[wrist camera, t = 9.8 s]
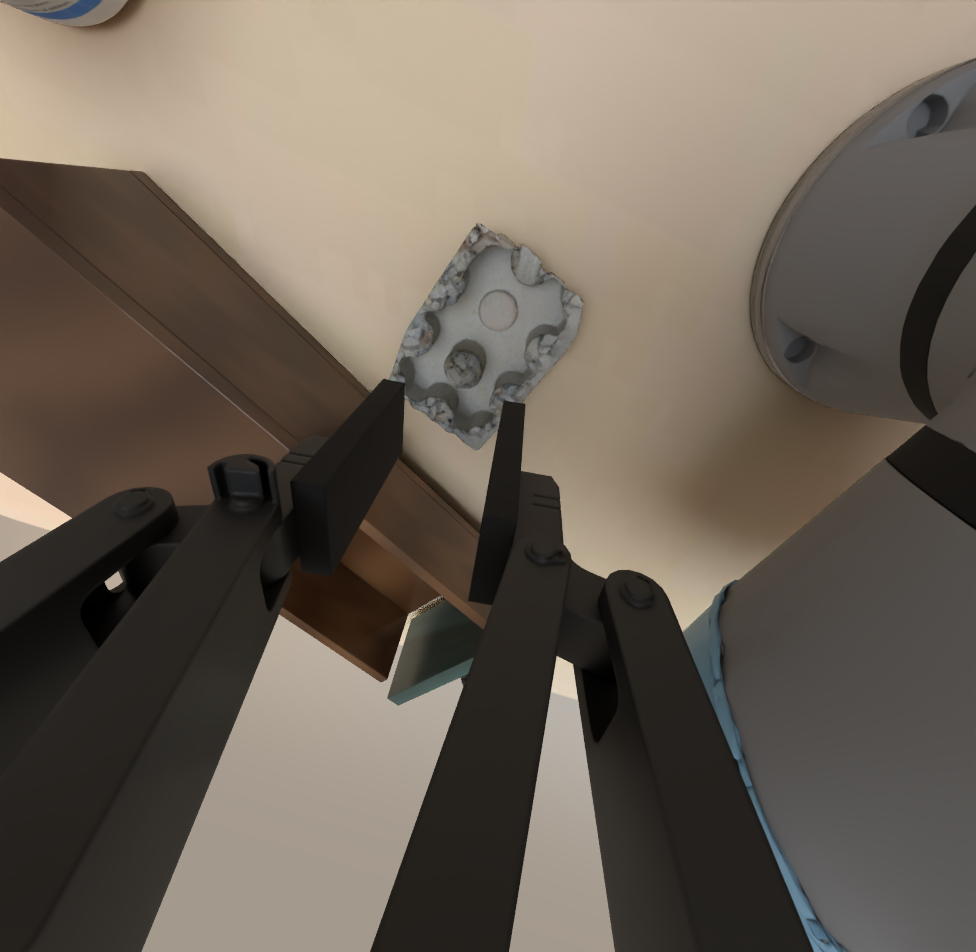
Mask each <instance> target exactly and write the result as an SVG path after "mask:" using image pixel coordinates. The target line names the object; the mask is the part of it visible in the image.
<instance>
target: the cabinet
mask: <svg viewBox="0 0 976 952" xmlns="http://www.w3.org/2000/svg"><path fill="white" fill-rule="evenodd" d="M369 394H370V393H369V392H368V391H367V390H366V389H365V388H364V387H363V386H362V385H361V384H360V383H359V382H358V381H357V380H356V379H355V378H354V377H353V376H352V375H351V374H350V373H349V372H348V371H347V370H346V369H345V368H344V367H343V366H342V365H341V364H340V363H339V362H337V361H336V360H335V359H334V358H333V357H332V356H331V355H330V354H329V353H328V352H327V351H326V350H325V349H324V348H323V347H322V346H321V345H320V344H319V343H318V342H317V341H316V340H315V339H314V338H313V337H312V336H311V335H310V334H309V333H308V332H307V331H306V330H305V329H304V328H303V327H302V326H301V325H299V324H298V323H297V322H296V321H295V320H294V319H293V318H292V317H291V316H290V315H289V314H288V313H287V312H286V311H285V310H284V309H283V308H282V307H281V306H280V305H279V304H278V303H277V302H276V301H275V300H274V299H273V298H272V297H271V296H270V295H269V294H268V293H267V292H266V291H265V290H264V289H262V288H261V287H260V286H259V285H258V284H257V283H256V282H255V281H254V280H253V279H252V278H251V277H250V276H249V275H248V274H247V273H246V272H245V271H244V270H243V269H242V268H241V267H240V266H239V265H238V264H237V263H236V262H235V261H234V260H233V259H232V258H231V257H230V256H229V255H228V254H227V253H226V252H224V251H223V250H222V249H221V248H220V247H219V246H218V245H217V244H216V243H215V242H214V241H213V240H212V239H211V238H210V237H209V236H208V235H207V234H206V233H205V232H204V231H203V230H202V229H201V228H200V227H199V226H198V225H197V224H196V223H195V222H194V221H193V220H192V219H191V218H190V217H189V216H188V215H186V214H185V213H184V212H183V211H182V210H181V209H180V208H179V207H178V206H177V205H176V204H175V203H174V202H173V201H172V200H171V199H170V198H169V197H168V196H167V195H166V194H165V193H164V192H163V191H162V190H161V189H160V188H159V187H158V186H157V185H156V184H155V183H154V182H153V181H152V180H151V179H150V178H148V177H147V176H146V175H145V174H144V173H143V172H140V171H127V170H117V169H106V168H96V167H86V166H75V165H65V164H54V163H44V162H34V161H23V160H13V159H2V158H0V472H1V473H3V474H4V475H6V476H7V477H9V478H10V479H12V480H14V481H15V482H17V483H18V484H20V485H21V486H23V487H25V488H26V489H28V490H29V491H31V492H32V493H34V494H36V495H37V496H39V497H40V498H42V499H43V500H45V501H47V502H48V503H50V504H51V505H53V506H54V507H56V508H58V509H59V510H61V511H62V512H64V513H65V514H67V515H69V516H70V517H72V518H74V517H75V516H77V515H79V514H80V513H82V512H83V511H85V510H87V509H88V508H90V507H92V506H93V505H95V504H97V503H98V502H100V501H102V500H103V499H105V498H107V497H109V496H111V495H113V494H115V493H118V492H121V491H125V490H128V489H131V488H140V487H156V488H161V489H164V490H166V491H169V492H170V494H171V495H172V497H173V499H174V502H175V506H186V505H209V504H211V503H212V502H213V501H214V499H215V497H214V493H213V489H212V486H211V482H210V478H209V474H208V470H207V467H208V466H209V465H211V464H212V463H213V462H215V461H217V460H219V459H222V458H224V457H227V456H233V455H238V454H255V455H261V456H265V457H266V458H268V459H270V460H272V461H273V463H274V465H276V464H277V463H278V462H280V461H281V459H282V458H283V457H284V456H285V455H286V454H288V453H289V451H290V450H291V449H292V448H293V447H294V446H295V445H296V444H297V443H298V442H300V441H303V440H305V439H307V438H309V437H312V436H319V437H324V438H330V437H331V436H332V435H333V434H334V433H335V431H336V430H337V429H338V428H339V427H340V426H341V425H342V424H343V423H344V422H345V421H346V419H347V418H348V417H349V416H350V415H351V414H352V413H353V412H354V411H355V410H356V408H357V407H358V406H359V405H360V404H361V403H362V402H363V401H364V400H365V399H366V398H367V396H368V395H369Z"/></svg>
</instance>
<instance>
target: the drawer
mask: <svg viewBox="0 0 976 952" xmlns="http://www.w3.org/2000/svg"><path fill="white" fill-rule="evenodd" d="M479 535H480V534H479V533H478V532H477V531H476V530H475V529H474V528H473V527H472V526H470V525H469V524H468V523H467V522H466V521H465V520H464V519H463V518H462V517H461V516H460V515H459V514H458V513H456V512H455V511H454V510H453V509H452V508H451V507H450V506H449V505H448V504H447V503H446V502H445V501H444V500H443V499H441V498H440V497H439V496H438V495H437V494H436V493H435V492H434V491H433V490H432V489H431V488H430V487H429V486H428V485H426V484H425V483H424V482H423V481H422V480H421V479H420V478H419V477H418V476H417V475H416V474H415V473H414V472H412V471H411V470H410V469H409V468H408V467H407V466H406V465H405V464H404V463H403V462H402V461H401V460H400V459H399V458H398V459H397V461H396V463H395V465H394V466H393V468H392V470H391V472H390V473H389V475H388V477H387V479H386V481H385V482H384V484H383V486H382V488H381V489H380V491H379V493H378V495H377V497H376V498H375V500H374V502H373V504H372V505H371V507H370V509H369V511H368V513H367V514H366V516H365V518H364V520H363V521H362V523H361V525H360V527H359V529H358V530H357V532H356V534H355V536H354V537H353V539H352V541H351V543H350V545H349V546H348V548H347V550H346V552H345V553H344V555H343V557H342V559H341V560H340V562H339V564H338V566H337V568H336V569H335V571H334V573H333V575H332V576H331V577H330V576H324V575H319V574H313V573H308V572H302V571H301V563H300V556H298V558H297V559H296V561H295V562H294V564H293V565H292V567H291V574H292V581H291V586H290V588H289V591H288V593H287V596H286V598H285V601H284V603H283V606H282V608H281V610H280V613H279V614H280V615H281V616H283V617H285V618H286V619H287V620H289V621H290V622H292V623H293V624H295V625H296V626H298V627H299V628H301V629H302V630H304V631H305V632H307V633H308V634H310V635H311V636H313V637H314V638H315V639H317V640H318V641H320V642H321V643H323V644H324V645H326V646H327V647H329V648H330V649H332V650H333V651H335V652H336V653H338V654H339V655H341V656H342V657H344V658H345V659H347V660H348V661H350V662H351V663H353V664H354V665H356V666H357V667H359V668H360V669H362V670H363V671H365V672H366V673H368V674H369V675H371V676H372V677H374V678H375V679H376V680H378V681H380V682H383V681H385V680H387V678H388V675H389V672H390V669H391V666H392V663H393V660H394V656H395V653H396V651H397V647H398V644H399V641H400V638H401V635H402V632H403V629H404V626H405V622H406V619H407V616H408V614H409V613H411V612H413V611H414V610H416V609H418V608H419V607H421V606H423V605H425V604H426V603H428V602H430V601H431V600H433V599H435V598H437V597H438V596H440V595H442V596H443V597H444V598H445V599H446V600H445V601H443V602H441V603H440V604H438V605H436V606H434V607H433V608H431V609H429V610H427V611H426V612H424V613H422V614H420V615H419V616H417V617H415V618H413V619H412V620H411V623H410V626H409V629H408V632H407V636H406V639H405V642H404V645H403V649H402V652H401V655H400V659H399V662H398V665H397V668H396V671H395V675H394V678H393V682H392V684H391V688H390V691H389V695H388V699H389V700H391V701H392V702H394V703H395V704H397V705H400V704H403V703H405V702H407V701H409V700H411V699H414V698H416V697H418V696H420V695H422V694H425V693H427V692H429V691H431V690H434V689H436V688H438V687H440V686H442V685H445V684H447V683H449V682H451V681H453V680H455V679H458V678H461V680H462V684H463V686H464V684H465V681H466V678H467V675H468V673H469V670H470V667H471V664H472V661H473V658H474V655H475V653H476V650H477V647H478V644H479V641H480V638H481V636H482V633H483V630H484V627H485V624H486V621H487V619H488V616H489V613H490V610H491V607H492V605H486V604H481V603H475V602H469V601H468V597H469V591H470V586H471V580H472V574H473V569H474V563H475V557H476V552H477V546H478V540H479Z"/></svg>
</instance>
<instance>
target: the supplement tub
mask: <svg viewBox="0 0 976 952" xmlns="http://www.w3.org/2000/svg"><path fill="white" fill-rule="evenodd" d="M127 1H128V0H0V2H2V3H5V4H7V5H10V6H12V7H15V8H17V9H20V10H22V11H24V12H27V13H30V14H33V15H35V16H38V17H40V18H43V19H45V20H48V21H51V22H54V23H58V24H62V25H67V26H91V25H95V24H99V23H102V22H104V21H106V20H108V19H109V18H111V17H113V16H114V15H115V14H117V13H118V12H119V11H120V10H121V9H122V8H123V6H124V5H125V4H126V2H127Z"/></svg>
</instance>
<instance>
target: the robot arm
mask: <svg viewBox="0 0 976 952" xmlns="http://www.w3.org/2000/svg"><path fill="white" fill-rule="evenodd" d="M751 322H752V328H753V333H754V337H755V340H756V343H757V346H758V349H759V351H760V353H761V355H762V357H763V359H764V360H765V362H766V363H767V364H768V366H769V367H770V369H771V370H772V371H773V372H774V373H775V374H776V375H777V376H778V377H779V378H780V379H781V380H782V381H784V382H785V383H786V384H788V385H789V386H790V387H792V388H793V389H795V390H796V391H798V392H799V393H801V394H802V395H804V396H805V397H807V398H808V399H811V400H813V401H815V402H817V403H819V404H822V405H825V406H827V407H830V408H834V409H837V410H840V411H844V412H849V413H854V414H861V415H868V416H875V417H882V418H889V419H896V420H903V421H910V422H917V423H924V424H926V425H925V426H924V427H923V428H922V429H920V430H919V431H918V432H917V433H916V434H914V435H913V436H912V437H911V438H910V439H908V440H907V441H906V442H905V443H904V444H903V445H901V446H900V447H899V448H898V449H897V450H895V451H894V452H893V453H892V454H891V455H889V456H887V457H886V458H885V459H883V460H882V461H881V462H880V463H879V464H877V465H876V466H875V467H874V468H873V469H871V470H870V471H869V472H868V473H867V474H865V475H864V476H863V477H862V478H861V479H859V480H858V481H857V482H856V483H855V484H853V485H852V486H851V487H850V488H849V489H847V490H846V491H845V492H844V493H843V494H841V495H840V496H839V497H838V498H837V499H835V500H834V501H833V502H832V503H831V504H829V505H828V506H827V507H826V508H825V509H824V510H822V511H821V512H820V513H819V514H818V515H816V516H815V517H814V518H813V519H812V520H810V521H809V522H808V523H807V524H806V525H804V526H803V527H802V528H801V529H800V530H798V531H797V532H796V533H795V534H794V535H792V536H791V537H790V538H789V539H788V540H786V541H785V542H784V543H783V544H782V545H780V546H779V547H778V548H777V549H776V550H774V551H773V552H772V553H771V554H770V555H768V556H767V557H766V558H765V559H764V560H762V561H761V562H760V563H759V564H758V565H756V566H755V567H754V568H753V569H752V570H751V571H749V572H748V573H747V574H746V575H745V576H743V577H742V578H741V579H740V580H734V581H733V582H731V583H729V584H727V585H725V586H724V587H723V589H722V590H721V591H720V593H719V594H718V595H716V596H715V598H714V600H713V603H712V605H711V606H710V607H709V608H708V609H707V610H706V611H705V612H704V613H702V614H701V615H700V616H699V617H698V618H697V619H696V620H695V621H694V622H693V623H692V624H691V625H690V626H689V627H688V628H686V629H685V630H684V631H683V632H682V630H681V628H680V625H679V623H678V620H677V618H676V616H675V613H674V611H673V608H672V606H671V603H670V601H669V599H668V597H667V595H666V593H665V592H664V590H663V589H662V587H660V586H659V585H658V584H657V583H656V582H655V581H654V580H653V579H651V578H649V577H647V576H645V575H643V574H641V573H638V572H634V571H631V570H618V571H616V572H613V573H611V574H610V575H609V576H608V578H607V579H605V578H602V577H600V576H598V575H595V574H593V573H591V572H589V571H587V570H585V569H583V568H581V567H580V566H578V565H577V564H576V563H574V562H573V561H572V559H571V554H570V552H569V551H568V549H567V548H566V546H565V545H564V544H563V531H562V518H561V510H560V509H561V505H560V492H559V487H558V485H557V484H556V482H555V481H554V479H553V478H552V477H551V476H546V475H540V474H534V473H529V472H523V471H521V462H522V447H523V431H524V416H525V404H523V403H517V402H511V401H506V400H504V401H503V406H502V412H501V418H500V423H499V429H498V434H497V440H496V445H495V451H494V456H493V462H492V468H491V473H490V479H489V484H488V490H487V495H486V501H485V506H484V512H483V518H482V523H481V529H480V535H479V540H478V546H477V552H476V557H475V563H474V569H473V574H472V580H471V586H470V591H469V597H468V601H469V602H475V603H481V604H486V605H492V607H491V610H490V613H489V616H488V619H487V621H486V624H485V627H484V630H483V633H482V636H481V638H480V641H479V644H478V647H477V650H476V653H475V655H474V658H473V661H472V664H471V667H470V670H469V673H468V675H467V678H466V681H465V684H464V687H463V690H462V693H461V695H460V698H459V701H458V704H457V707H456V710H455V713H454V715H453V718H452V721H451V724H450V727H449V729H448V732H447V735H446V738H445V741H444V744H443V747H442V749H441V752H440V755H439V758H438V761H437V763H436V766H435V769H434V772H433V775H432V778H431V780H430V783H429V786H428V789H427V792H426V795H425V797H424V800H423V803H422V806H421V809H420V812H419V814H418V817H417V820H416V823H415V826H414V829H413V832H412V834H411V837H410V840H409V843H408V846H407V849H406V852H405V854H404V857H403V860H402V863H401V866H400V868H399V871H398V874H397V877H396V880H395V883H394V886H393V889H392V891H391V894H390V897H389V900H388V903H387V906H386V908H385V911H384V914H383V917H382V920H381V923H380V925H379V928H378V931H377V934H376V937H375V939H374V942H373V945H372V948H371V951H370V952H509V948H510V941H511V935H512V929H513V922H514V916H515V910H516V904H517V898H518V891H519V885H520V879H521V873H522V867H523V861H524V854H525V848H526V841H527V835H528V830H529V823H530V817H531V811H532V805H533V799H534V793H535V786H536V780H537V774H538V767H539V762H540V755H541V749H542V743H543V737H544V731H545V724H546V718H547V712H548V706H549V699H550V693H551V687H552V681H553V675H554V669H555V662H556V656H558V657H560V658H562V659H564V660H566V661H568V662H570V663H572V664H573V667H574V674H575V681H576V687H577V694H578V701H579V708H580V715H581V721H582V728H583V735H584V742H585V749H586V756H587V763H588V770H589V776H590V783H591V790H592V797H593V804H594V810H595V818H596V825H597V831H598V838H599V845H600V852H601V859H602V866H603V873H604V879H605V886H606V893H607V899H608V907H609V914H610V920H611V927H612V934H613V941H614V948H615V952H976V58H975V59H972V60H969V61H966V62H963V63H961V64H958V65H955V66H952V67H949V68H946V69H943V70H941V71H939V72H936V73H934V74H932V75H930V76H927V77H925V78H923V79H921V80H919V81H917V82H915V83H913V84H911V85H910V86H908V87H906V88H904V89H902V90H900V91H899V92H897V93H896V94H894V95H892V96H891V97H889V98H888V99H886V100H885V101H883V102H882V103H880V104H879V105H877V106H876V107H874V108H873V109H872V110H870V111H869V112H868V113H866V114H865V115H864V116H862V117H861V118H860V119H859V120H857V121H856V122H855V123H854V124H853V125H852V126H850V127H849V128H848V129H847V130H846V131H845V132H843V133H842V134H841V135H840V136H839V137H838V138H837V139H836V140H835V141H834V142H833V143H832V144H831V145H830V146H829V147H828V148H827V149H826V150H825V151H824V152H823V153H822V154H821V155H820V157H819V158H818V159H817V160H816V161H815V162H814V163H813V164H812V165H811V167H810V168H809V169H808V170H807V172H806V173H805V174H804V175H803V177H802V178H801V179H800V181H799V182H798V183H797V185H796V186H795V187H794V189H793V190H792V192H791V193H790V195H789V196H788V198H787V199H786V201H785V202H784V204H783V206H782V208H781V209H780V211H779V213H778V214H777V216H776V218H775V220H774V222H773V224H772V226H771V228H770V230H769V232H768V234H767V237H766V239H765V242H764V244H763V247H762V249H761V252H760V255H759V258H758V262H757V265H756V268H755V273H754V278H753V283H752V291H751ZM404 396H405V383H404V382H398V381H392V380H387V379H383V380H382V381H381V382H380V383H379V384H378V386H377V387H376V388H375V389H374V390H373V391H372V392H371V393H370V394H369V395H368V396H367V398H366V399H365V400H364V401H363V402H362V403H361V404H360V405H359V406H358V407H357V408H356V410H355V411H354V412H353V413H352V414H351V415H350V416H349V417H348V418H347V419H346V421H345V422H344V423H343V424H342V425H341V426H340V427H339V428H338V429H337V430H336V431H335V433H334V434H333V435H332V436H331V437H330V438H324V437H319V436H312V437H309V438H307V439H305V440H303V441H300V442H298V443H297V444H296V445H295V446H294V447H293V448H292V449H291V450H290V451H289V453H288V454H286V455H285V456H284V457H283V458H282V459H281V461H280V462H278V463H277V464H276V465H274V463H273V461H272V460H270V459H268V458H266V457H265V456H261V455H255V454H238V455H233V456H227V457H224V458H222V459H219V460H217V461H215V462H213V463H212V464H211V465H209V466H208V467H207V470H208V474H209V478H210V482H211V486H212V489H213V493H214V497H215V499H214V501H213V502H212V503H211V504H209V505H186V506H175V502H174V499H173V497H172V495H171V494H170V492H169V491H166V490H164V489H161V488H156V487H140V488H131V489H128V490H125V491H121V492H118V493H115V494H113V495H111V496H109V497H107V498H105V499H103V500H102V501H100V502H98V503H97V504H95V505H93V506H92V507H90V508H88V509H87V510H85V511H83V512H82V513H80V514H79V515H77V516H75V517H74V518H72V519H70V520H69V521H67V522H65V523H64V524H62V525H60V526H59V527H57V528H56V529H54V530H52V531H51V532H49V533H47V534H46V535H44V536H42V537H41V538H39V539H37V540H36V541H34V542H33V543H31V544H29V545H28V546H26V547H24V548H23V549H21V550H19V551H18V552H16V553H15V554H13V555H11V556H10V557H8V558H6V559H5V560H3V561H1V562H0V952H141V951H142V949H143V946H144V944H145V941H146V939H147V937H148V934H149V932H150V929H151V927H152V924H153V922H154V919H155V917H156V914H157V912H158V910H159V907H160V905H161V902H162V900H163V897H164V895H165V892H166V890H167V887H168V885H169V883H170V880H171V878H172V875H173V873H174V870H175V868H176V865H177V863H178V860H179V858H180V856H181V853H182V850H183V848H184V845H185V843H186V841H187V838H188V836H189V833H190V831H191V829H192V826H193V824H194V821H195V819H196V816H197V814H198V811H199V809H200V807H201V804H202V802H203V799H204V797H205V794H206V792H207V789H208V787H209V784H210V782H211V779H212V777H213V775H214V772H215V770H216V767H217V765H218V762H219V760H220V757H221V755H222V752H223V750H224V748H225V745H226V743H227V740H228V738H229V735H230V733H231V731H232V728H233V726H234V723H235V721H236V718H237V716H238V713H239V711H240V708H241V706H242V704H243V701H244V698H245V696H246V694H247V691H248V689H249V686H250V684H251V682H252V679H253V676H254V674H255V671H256V669H257V667H258V664H259V662H260V659H261V657H262V655H263V652H264V650H265V647H266V645H267V642H268V640H269V637H270V635H271V632H272V630H273V628H274V625H275V623H276V620H277V618H278V615H279V613H280V610H281V608H282V606H283V603H284V601H285V598H286V596H287V593H288V591H289V588H290V586H291V581H292V574H291V567H292V565H293V564H294V562H295V561H296V559H297V558H298V556H300V563H301V571H302V572H308V573H313V574H319V575H324V576H330V577H331V576H332V575H333V573H334V571H335V569H336V568H337V566H338V564H339V562H340V560H341V559H342V557H343V555H344V553H345V552H346V550H347V548H348V546H349V545H350V543H351V541H352V539H353V537H354V536H355V534H356V532H357V530H358V529H359V527H360V525H361V523H362V521H363V520H364V518H365V516H366V514H367V513H368V511H369V509H370V507H371V505H372V504H373V502H374V500H375V498H376V497H377V495H378V493H379V491H380V489H381V488H382V486H383V484H384V482H385V481H386V479H387V477H388V475H389V473H390V472H391V470H392V468H393V466H394V465H395V463H396V461H397V459H398V458H399V456H400V454H401V452H402V445H403V421H404ZM117 571H119V573H120V576H121V578H122V580H123V582H122V583H121V584H120V585H119V586H117V587H115V588H114V589H112V590H108V589H107V587H106V585H105V581H106V580H107V579H108V578H110V577H111V576H112V575H114V574H115V573H116V572H117Z"/></svg>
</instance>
